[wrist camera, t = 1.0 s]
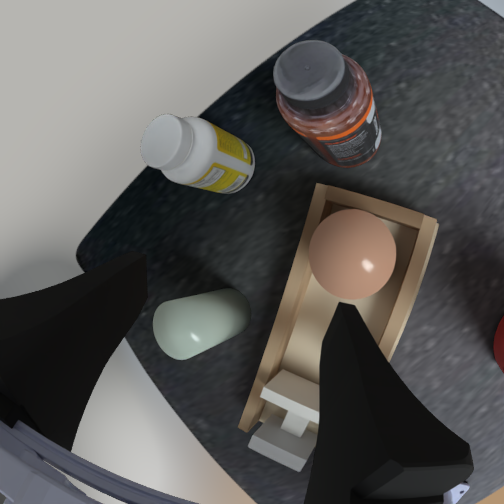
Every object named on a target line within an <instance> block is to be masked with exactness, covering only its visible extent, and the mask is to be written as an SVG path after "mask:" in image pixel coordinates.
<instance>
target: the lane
mask: <svg viewBox="0 0 504 504" xmlns="http://www.w3.org/2000/svg"><path fill="white" fill-rule="evenodd" d="M347 209H358V210H363V211H366V212H369V213H371V214H373V215H375V216H376V217H377V218H379V219H380V220H381V221H382V222H383V223H384V224H385V225H386V226H387V228H388V229H389V231H390V232H391V234H392V236H393V238H394V240H395V244H396V249H397V254H396V261H395V266H394V269H393V272H392V274H391V276H390V278H389V280H388V281H387V282H386V284H385V285H384V286H383V287H382V288H381V289H380V290H379V291H377V292H376V293H374V294H372V295H371V296H368V297H366V298H362V299H355V300H351V299H343V298H339V297H337V296H334V295H332V294H331V293H329V292H327V291H326V290H325V289H324V288H323V287H322V286H321V285H320V284H319V283H318V281H317V280H316V279H315V277H314V275H313V273H312V270H311V267H310V263H309V245H310V241H311V238H312V236H313V234H314V232H315V230H316V228H317V227H318V226H319V224H320V223H321V222H322V221H323V220H324V219H326V218H327V217H328V216H330V215H331V214H334V213H336V212H338V211H341V210H347ZM436 222H437V219H434V218H431V217H429V216H426V215H424V214H422V213H419V212H416V211H413V210H410V209H407V208H404V207H401V206H398V205H395V204H392V203H389V202H385V201H382V200H379V199H376V198H372V197H369V196H365V195H362V194H359V193H355V192H352V191H348V190H345V189H341V188H337V187H334V186H330V185H328V186H327V185H323V184H319V183H316V187H315V190H314V194H313V198H312V201H311V205H310V208H309V212H308V215H307V218H306V222H305V225H304V229H303V232H302V236H301V239H300V242H299V246H298V249H297V252H296V255H295V259H294V262H293V265H292V269H291V272H290V275H289V278H288V281H287V285H286V288H285V291H284V294H283V297H282V300H281V304H280V307H279V310H278V313H277V316H276V319H275V322H274V325H273V328H272V331H271V334H270V337H269V340H268V343H267V346H266V349H265V352H264V355H263V358H262V361H261V364H260V367H259V370H258V372H257V375H256V378H255V381H254V384H253V387H252V390H251V392H250V395H249V398H248V401H247V404H246V406H245V409H244V412H243V415H242V417H241V420H240V423H239V425H238V428H239V429H241V430H243V431H245V432H248V431H249V430H250V429H251V428H252V427H253V426H254V425H255V424H256V423H257V422H258V421H261V422H263V423H264V422H265V421H266V420H267V419H268V418H269V417H270V416H271V414H273V415H276V416H278V417H280V418H282V419H285V417H286V415H287V412H288V410H286V409H284V408H282V407H280V406H278V405H276V404H273V403H271V402H269V401H267V400H265V399H263V398H261V397H260V395H261V393H262V390H263V387H264V386H265V385H266V384H267V383H268V382H270V381H271V380H272V379H273V378H274V377H275V376H276V375H277V374H278V373H279V372H280V371H281V370H282V369H284V370H286V371H288V372H291V373H293V374H295V375H297V376H300V377H302V378H304V379H306V380H309V381H311V382H313V383H316V384H318V385H319V363H320V354H321V346H322V340H323V338H324V336H325V334H326V331H327V329H328V327H329V324H330V322H331V320H332V317H333V315H334V312H335V310H336V308H337V305H338V303H339V302H343V303H348V304H353V305H355V306H356V308H357V309H358V311H359V313H360V315H361V317H362V318H363V320H364V322H365V324H366V326H367V327H368V329H369V331H370V333H371V334H372V336H373V338H374V340H375V341H376V343H377V345H378V346H379V348H380V349H381V351H382V353H383V354H384V356H385V357H386V359H387V360H388V362H390V360H391V357H392V355H393V353H394V351H395V348H396V346H397V344H398V342H399V339H400V337H401V335H402V332H403V330H404V327H405V325H406V322H407V320H408V317H409V315H410V312H411V310H412V307H413V304H414V302H415V299H416V296H417V294H418V291H419V288H420V285H421V282H422V279H423V276H424V273H425V270H426V267H427V264H428V261H429V258H430V254H431V251H432V248H433V244H434V241H435V237H436V234H437V230H438V227H439V224H437V223H436ZM318 427H319V424H317V423H315V422H313V421H310V422H309V424H308V426H307V428H306V430H308V431H310V432H313V433H315V434H318ZM315 447H316V445H315Z"/></svg>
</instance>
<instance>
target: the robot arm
mask: <svg viewBox="0 0 504 504" xmlns="http://www.w3.org/2000/svg"><path fill="white" fill-rule="evenodd" d="M147 298H148V295H147V267H146V255H145V254H141V253H138V252H134V251H131V252H129V253H126V254H124V255H122V256H119V257H117V258H115V259H113V260H111V261H109V262H107V263H105V264H103V265H100V266H98V267H96V268H94V269H92V270H90V271H88V272H86V273H83V274H81V275H79V276H76V277H74V278H72V279H70V280H67V281H65V282H63V283H60V284H57V285H54V286H51V287H48V288H45V289H42V290H39V291H35V292H32V293H28V294H24V295H20V296H16V297H11V298H6V299H0V492H1V493H2V494H3V495H4V496H6V499H5V501H4V503H3V504H102V503H100V502H98V501H96V500H94V499H92V498H90V497H88V496H86V494H85V493H84V492H82V491H81V490H79V489H78V488H77V487H75V486H74V485H73V484H72V483H71V482H70V481H69V480H68V479H67V478H66V476H65V475H63V474H61V473H60V472H59V471H57V470H56V469H54V468H53V467H51V466H50V465H48V464H47V463H45V462H44V461H46V462H48V463H49V464H51V465H52V466H54V467H56V468H57V469H59V470H61V471H62V472H64V473H66V474H68V475H70V476H71V477H73V478H75V479H77V480H79V481H80V482H82V483H84V484H86V485H88V486H90V487H92V488H94V489H96V490H98V491H100V492H102V493H105V494H107V495H109V496H111V497H113V498H116V499H118V500H120V501H123V502H125V503H127V504H198V503H195V502H191V501H188V500H184V499H181V498H178V497H175V496H171V495H168V494H165V493H163V492H160V491H157V490H154V489H151V488H148V487H146V486H143V485H141V484H138V483H135V482H133V481H131V480H128V479H126V478H123V477H121V476H118V475H116V474H114V473H112V472H110V471H107V470H105V469H103V468H101V467H99V466H97V465H95V464H93V463H91V462H89V461H87V460H85V459H83V458H81V457H79V456H77V455H75V454H73V453H71V450H72V446H73V442H74V439H75V436H76V433H77V429H78V426H79V423H80V421H81V418H82V416H83V413H84V410H85V408H86V405H87V403H88V400H89V398H90V396H91V394H92V391H93V389H94V387H95V385H96V382H97V381H98V379H99V377H100V375H101V373H102V370H103V369H104V367H105V365H106V363H107V362H108V360H109V358H110V357H111V355H112V354H113V352H114V351H115V349H116V348H117V347H118V345H119V344H120V342H121V341H122V339H123V338H124V337H125V335H126V334H127V332H128V331H129V329H130V328H131V326H132V325H133V323H134V322H135V320H136V319H137V317H138V315H139V314H140V312H141V310H142V308H143V306H144V304H145V302H146V300H147ZM43 460H44V461H43ZM473 470H474V466H473V460H472V455H471V450H470V446H469V444H468V443H467V442H466V441H464V440H463V439H462V438H460V437H459V436H458V435H456V434H455V433H454V432H452V431H451V430H450V429H448V428H447V427H446V426H445V425H444V424H443V423H441V422H440V421H439V420H438V419H437V418H436V417H435V416H434V415H433V414H432V413H431V412H430V411H429V410H428V409H427V408H426V407H425V406H424V405H423V404H422V403H421V402H420V401H419V400H418V399H417V398H416V397H415V396H414V395H413V393H412V392H411V391H410V390H409V389H408V387H407V386H406V385H405V384H404V382H403V381H402V380H401V379H400V377H399V376H398V375H397V373H396V372H395V371H394V369H393V368H392V366H391V365H390V363H389V362H388V360H387V359H386V357H385V356H384V354H383V353H382V351H381V349H380V348H379V346H378V345H377V343H376V341H375V340H374V338H373V336H372V334H371V333H370V331H369V329H368V327H367V326H366V324H365V322H364V320H363V318H362V317H361V315H360V313H359V311H358V309H357V308H356V306H355V305H353V304H348V303H343V302H339V303H338V305H337V308H336V310H335V312H334V315H333V317H332V320H331V322H330V324H329V327H328V329H327V331H326V334H325V336H324V338H323V340H322V346H321V354H320V363H319V427H318V434H317V441H316V448H315V454H314V460H313V465H312V470H311V475H310V480H309V484H308V489H307V493H306V497H305V501H304V504H455V503H456V502H457V501H458V500H459V499H460V498H461V497H462V496H463V495H464V494H465V493H466V491H467V490H468V489H469V484H467V483H463V481H465V480H466V479H467V478H468V477H469V476H470V475H471V474H472V472H473ZM462 490H463V491H462Z"/></svg>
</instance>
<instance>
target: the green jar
mask: <svg viewBox="0 0 504 504" xmlns="http://www.w3.org/2000/svg"><path fill="white" fill-rule="evenodd" d="M250 320H251V308H250V305H249V302H248V301H247V299H246V298H245V296H244V295H243V294H242V293H240V292H239V291H237V290H235V289H231V288H225V289H220V290H216V291H211V292H207V293H203V294H198V295H194V296H189V297H185V298H180V299H175V300H171V301H167V302H164V303H162V304H161V305H160V306H159V307H158V308H157V310H156V312H155V314H154V318H153V330H154V335H155V338H156V340H157V342H158V344H159V346H160V347H161V349H162V350H163V351H164V352H165V353H166V354H167V355H169V356H170V357H172V358H174V359H178V360H185V359H188V358H190V357H192V356H195V355H197V354H199V353H201V352H203V351H205V350H207V349H209V348H211V347H213V346H215V345H218V344H220V343H222V342H224V341H226V340H228V339H230V338H232V337H234V336H236V335H238V334H240V333H242V332H243V331H244V330H245V329H246V328H247V327H248V325H249V323H250Z"/></svg>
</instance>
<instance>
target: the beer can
mask: <svg viewBox="0 0 504 504" xmlns="http://www.w3.org/2000/svg"><path fill="white" fill-rule="evenodd" d="M493 349H494V355H495V360H496V361H497V363H498V365H499V367H500V369H501V370H502V372H503V373H504V316H503V318H502V319H501V321H500V322H499V325H498V328H497V330H496V333H495V337H494V346H493Z"/></svg>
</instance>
